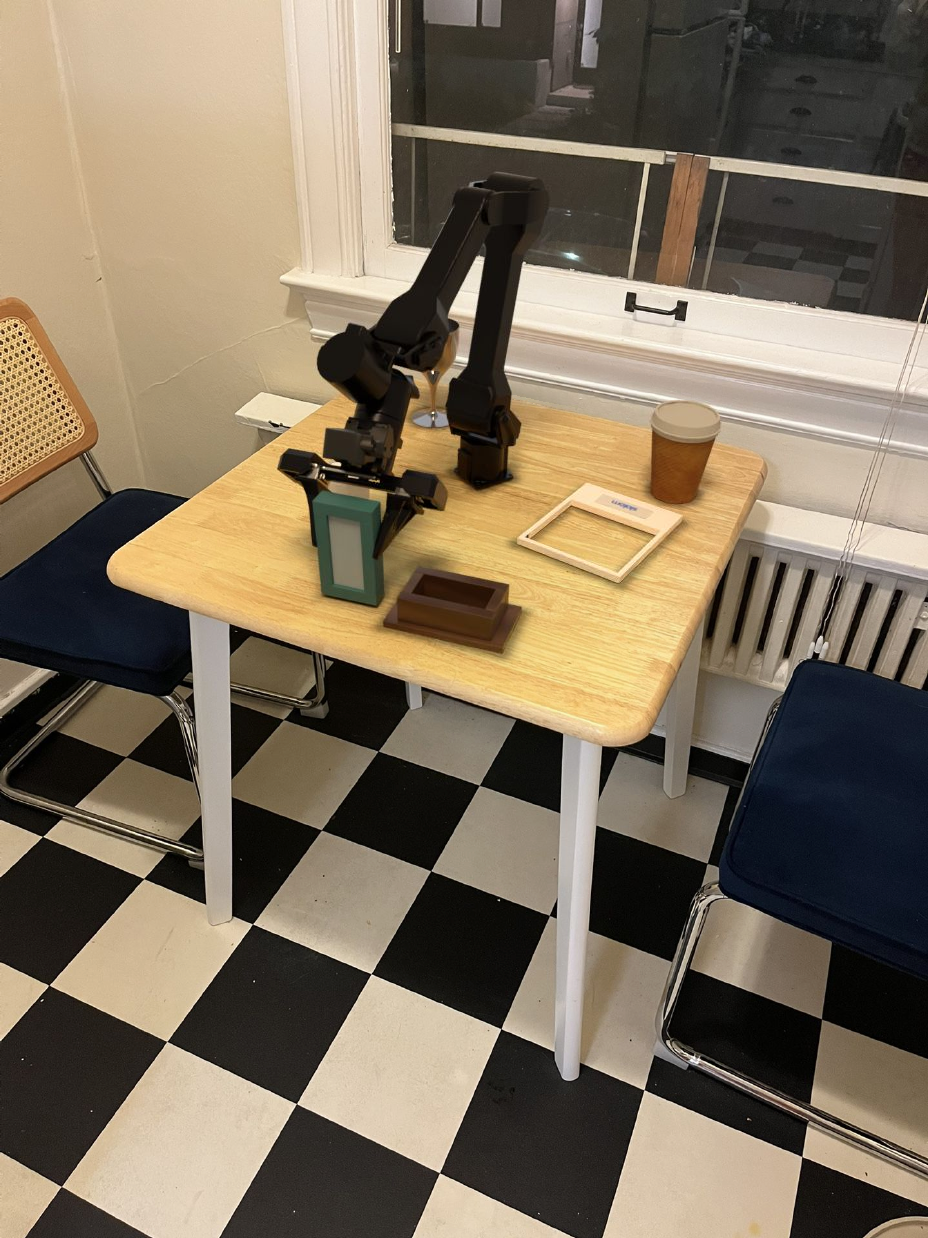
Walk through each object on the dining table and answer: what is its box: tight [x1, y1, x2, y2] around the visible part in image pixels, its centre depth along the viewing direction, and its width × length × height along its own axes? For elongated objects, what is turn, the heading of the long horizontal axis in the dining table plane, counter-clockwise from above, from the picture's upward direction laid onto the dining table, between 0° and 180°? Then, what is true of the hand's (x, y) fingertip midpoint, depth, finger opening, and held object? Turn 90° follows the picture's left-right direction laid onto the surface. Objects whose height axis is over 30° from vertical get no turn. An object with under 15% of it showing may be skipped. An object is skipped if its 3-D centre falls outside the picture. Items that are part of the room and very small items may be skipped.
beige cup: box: [327, 460, 371, 499], centre depth 119 cm, size 7×7×7 cm
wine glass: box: [410, 317, 460, 429], centre depth 141 cm, size 8×8×15 cm
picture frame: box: [312, 491, 386, 607], centre depth 102 cm, size 2×7×12 cm, turn 72°
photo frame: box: [516, 482, 684, 584], centre depth 118 cm, size 15×1×18 cm
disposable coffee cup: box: [649, 399, 723, 504], centre depth 124 cm, size 10×10×12 cm
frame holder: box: [382, 565, 523, 654], centre depth 102 cm, size 8×14×4 cm, turn 72°
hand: (344, 552), depth 101 cm, fingers closed on picture frame, 7 cm apart
